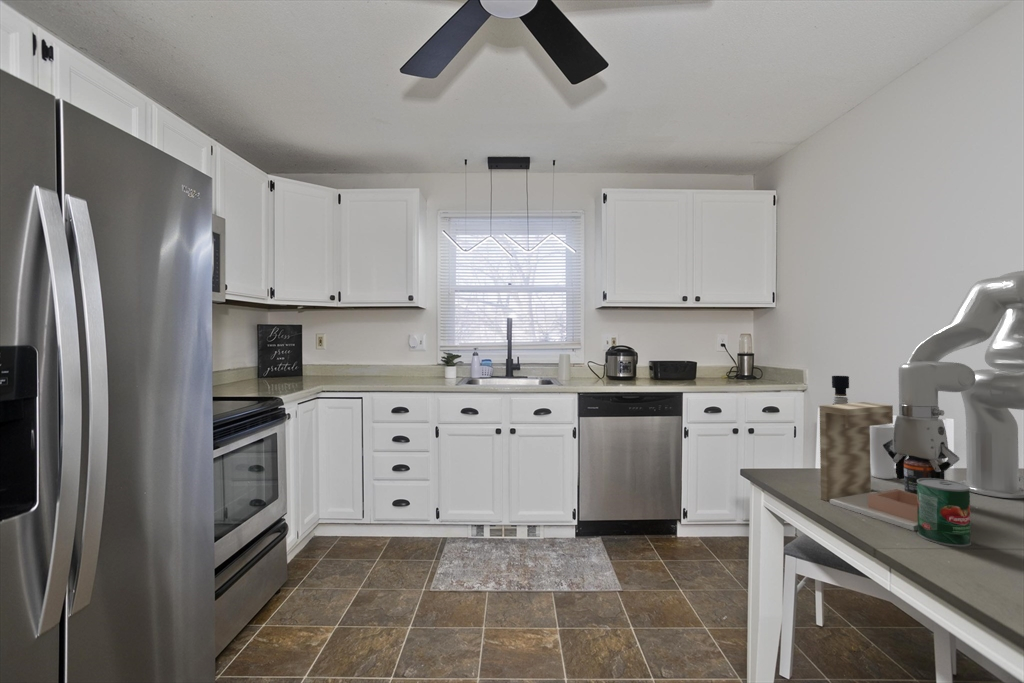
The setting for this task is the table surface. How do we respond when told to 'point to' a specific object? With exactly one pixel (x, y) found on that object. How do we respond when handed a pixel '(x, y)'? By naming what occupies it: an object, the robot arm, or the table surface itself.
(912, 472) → the supplement bottle
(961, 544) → the canned tomato
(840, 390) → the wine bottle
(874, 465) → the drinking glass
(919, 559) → the table surface
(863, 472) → the wood grain block
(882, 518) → the socket
